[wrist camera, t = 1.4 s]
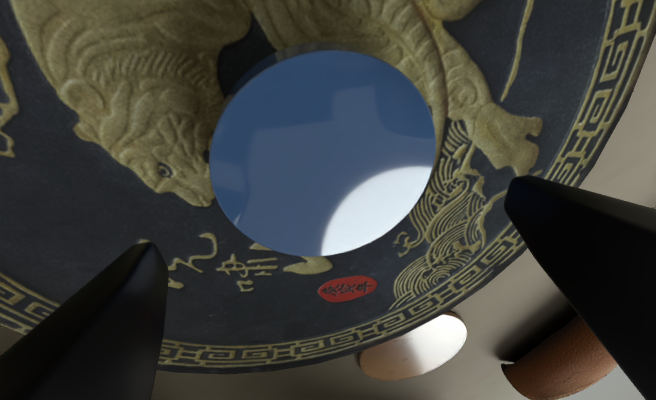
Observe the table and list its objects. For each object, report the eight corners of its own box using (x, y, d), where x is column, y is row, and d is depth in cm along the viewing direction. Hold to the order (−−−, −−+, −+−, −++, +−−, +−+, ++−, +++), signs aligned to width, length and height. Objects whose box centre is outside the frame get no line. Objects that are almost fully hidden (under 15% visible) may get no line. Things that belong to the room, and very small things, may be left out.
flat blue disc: (401, 202, 14) (425, 238, 12) (242, 231, 13) (240, 274, 11) (414, 24, 10) (452, 34, 8) (187, 50, 9) (170, 68, 7)
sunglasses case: (551, 374, 32) (581, 441, 26) (490, 334, 32) (505, 390, 26) (730, 245, 24) (830, 297, 18) (648, 196, 25) (718, 230, 19)
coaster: (455, 361, 28) (457, 366, 27) (359, 385, 27) (360, 389, 26) (473, 298, 23) (476, 303, 23) (357, 324, 22) (358, 329, 22)
